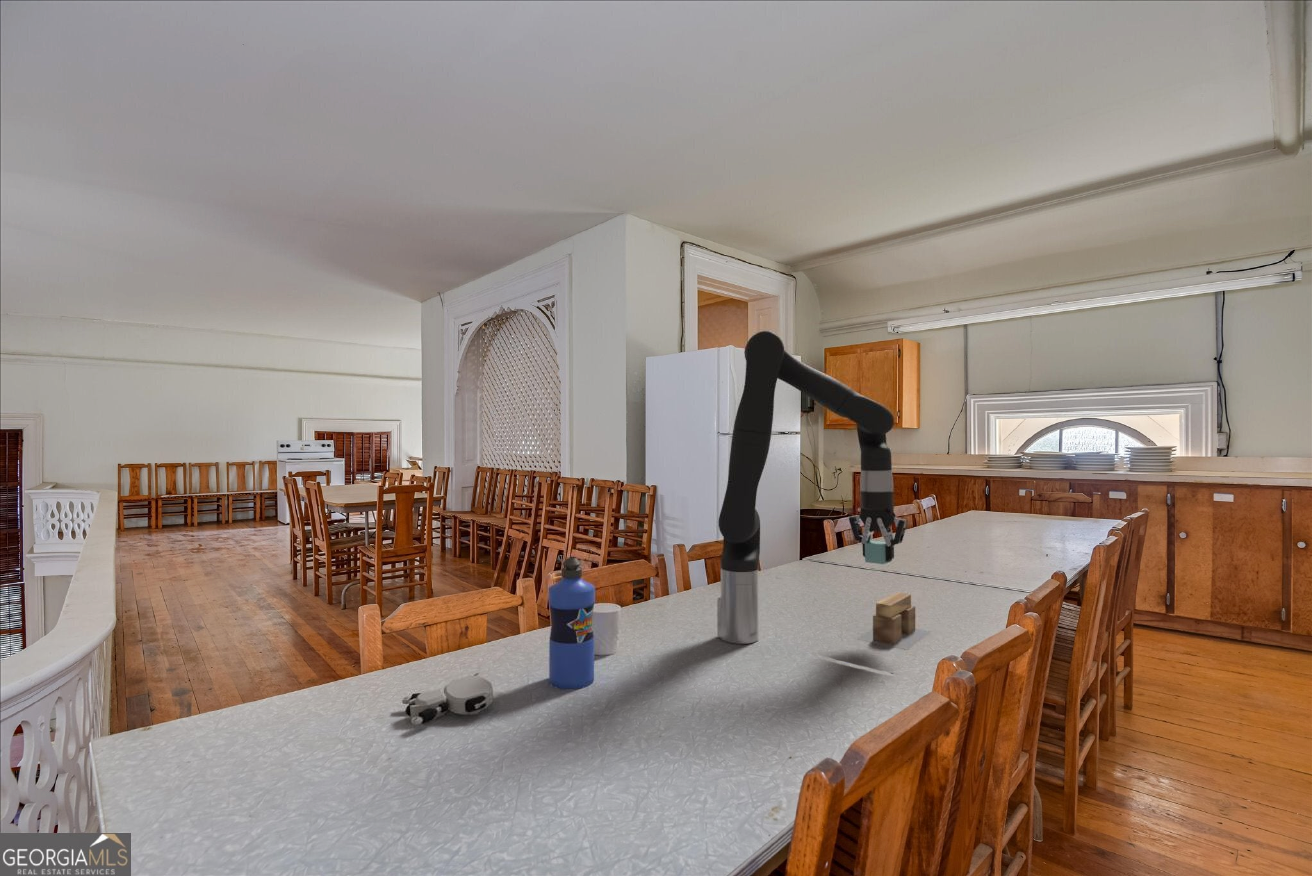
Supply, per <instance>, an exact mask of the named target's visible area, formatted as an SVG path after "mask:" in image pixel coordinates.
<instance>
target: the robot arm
mask: <svg viewBox="0 0 1312 876" xmlns="http://www.w3.org/2000/svg"><path fill="white" fill-rule="evenodd" d="M744 359H745V376H744V385H743V391H742V395H741V399H740V400H739V404H738V408H737V411H736V414H735V419H734V424H733V429H732V435H731V441H730V443H731V445H730V452H729V453H730V454H729V463H728V474H727V475H728V476H727V483H726V484H727V485H726V490H725V494H724V497H723V500H722V501H723V502H722V505H721V509H720V513H719V517H718V522H717V523H718V528H719V532H720V534H721V536H722V537H723V538H722V539H723V541H722V542H723V544H722V545H723V546H722V551H721V552H722V553H721V555H720V556H721V557H720V597H718V598H717V600H716V601H717V602H716V603H717V605H716V606H717V611H716V612H717V613H716V615H717V617H716V618H717V619H716V620H717V621H716V623H717V624H716V625H717V626H716V629H717V630H716V632H717V634H716V636H717V637H718V638H720V639H721V640H723V641H724V642H727V643H732V644H739V645H741V644H742V645H744V644H752V643H755V642H757V641H758V640H759V634H760V633H759V561H760V560H759V559H760V552H761V520H760V519H761V518H760V515H759V512H758V511H757V509H756V504H757V503H756V502H757V492H758V488H759V483H760V480H761V477H762V474H763V471H764V470H765V469H764V468H765V465H766V463H767V459H768V455H769V450H770V445H771V439H772V432H773V431H772V430H773V421H774V408H775V391H776V387H777V382H778V381H777V380H780V381H783V382H784V383H786V384H788V385H790V386H791V387H793V388H794V389H796V390H798V391H799V392H800V393H803V394H804V395H806V396H807V397H809V398H810V399H812V400H813V401H814V402H816V403H818V404H819V405H820V406H822V407H824V408H825V409H827V410H829V411H831V412H832V413H833V414H835V415H837V416H839V417H842V418H846V419H848V420H849V421H852V422H853V423H855V424H856V432H857V437H858V444H859V448H860V449H859V450H860V476H859V478H860V479H859V487H860V489H859V490H860V491H859V492H860V513H859V515H852V516H849V517H848V521H849V525H850V528H851V531H852V535H853V538H854V540H855V542H856V541H858V542H860V543H861V544H862V557H864V558H865V543H868V542H871V540H872V537H873V535H874V532H879V533H881V536H882V537H883V538H884V539H883V540H884V542H885V543H886V545H887V546H885V552H886V562H888V563H890V562H892V560H894V558H895V545H899V544H902V543H903V540H904V537H905V533H906V528H907V526H908V519H907V518H906V519H905V518H903V519H902V518H900V517H897V516H896V514H895V511H894V508H895V506H894V505H895V504H894V503H895V501H894V498H895V497H894V488H895V486H894V477H893V469H892V468H893V467H892V451H891V449H890V448H889V446H888V445H887V433H889V432H890V431H891V430H892V429H893V427H894V424H895V419H894V415H893V413H892V411H890V409H889V408H887V407H886V406H885V405H882V404H881V403H879V402H878V401H875V400H873V399H871V398H869V397H866V396H865V395H862V394H860V393H858V392H857V391H855V390H853V388H850V387H849V386H847V385H846V384H844V383H843V382H841V381H839V380H837V379H836V378H834V377H833V376H830V375H828V374H826V373H824V372H822V371H820V370H818V369H815V368H813V367H811V366H809V365H808V364H806V363H804V362H802V361H800V360H798V359H797V358H795V357H794V356H793V355H792V354H790V353H789V352H788V351H787V350H786V349H785V345H784V342H783V340H782V339H781V337H780V336H779V335H778V334H776V333H775V332H774V331H770V330H762V331H759V332H757V333H755V334H753V335H752V336H751V337H750V338H749V339H748V341H747V343H746V345H745V348H744ZM861 522H862V523H863V525H864V528H863V531H862V527H861ZM893 523H895V524H894V525H895V527H896V529H895V535H894V536H893V530H892V527H891V526H892V525H893Z"/></svg>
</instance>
